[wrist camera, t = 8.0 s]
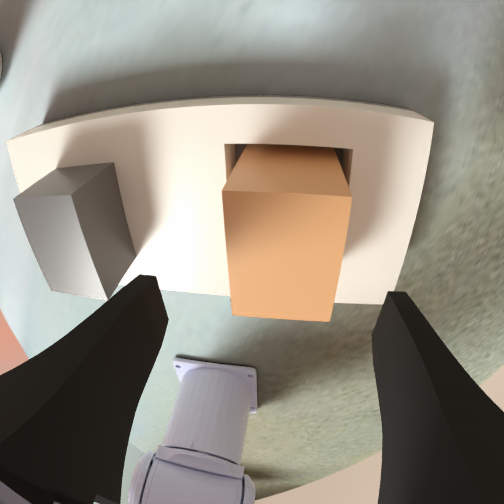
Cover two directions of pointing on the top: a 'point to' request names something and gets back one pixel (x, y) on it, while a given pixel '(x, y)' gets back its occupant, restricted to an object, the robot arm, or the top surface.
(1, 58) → the beverage can
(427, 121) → the white slotted slab
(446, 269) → the top surface
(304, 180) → the tan cardboard box
